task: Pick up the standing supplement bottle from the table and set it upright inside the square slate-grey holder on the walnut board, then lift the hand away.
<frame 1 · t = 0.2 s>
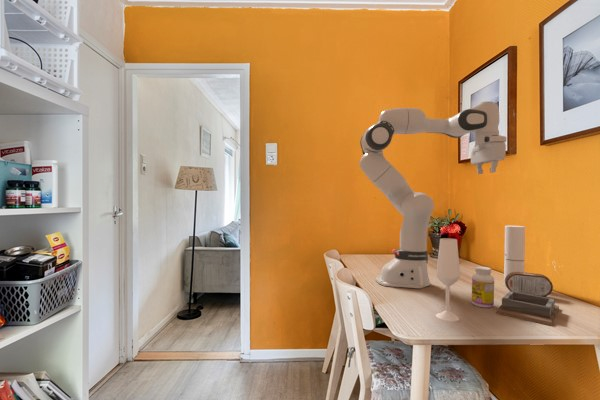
hand: (486, 173, 137), 47 cm above the table, tool pointing down, fingers open, 8 cm apart
cylindrical container: (513, 284, 137), on the table
champagne flute: (447, 317, 99), on the table
holder: (528, 310, 105), on the table
tin: (528, 295, 123), on the table
supplement bottle: (482, 305, 110), on the table
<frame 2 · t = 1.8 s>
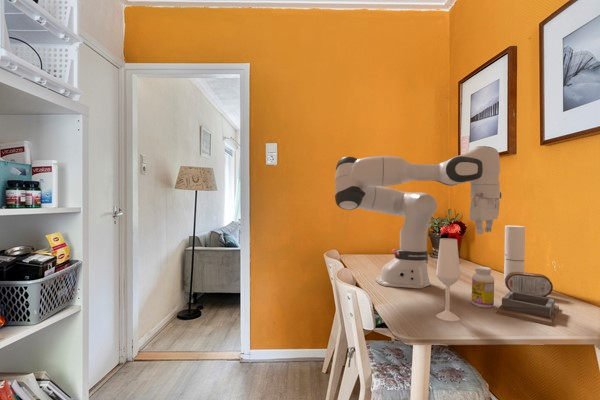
hand: (484, 233, 112), 25 cm above the table, tool pointing down, fingers open, 8 cm apart
nothing on the table moved.
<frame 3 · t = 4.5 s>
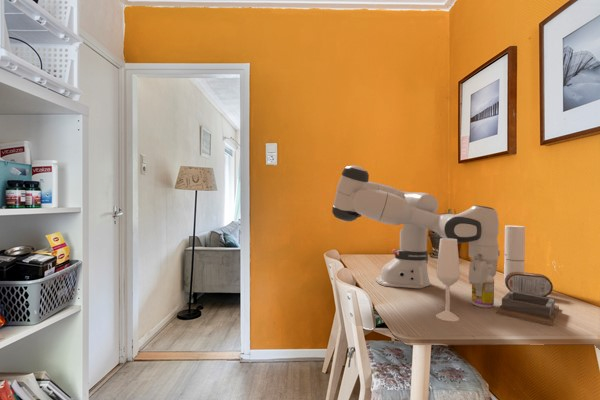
hand: (482, 293, 110), 4 cm above the table, tool pointing down, fingers closed on supplement bottle, 7 cm apart
supplement bottle: (482, 305, 110), on the table, touching gripper
everything else where it was.
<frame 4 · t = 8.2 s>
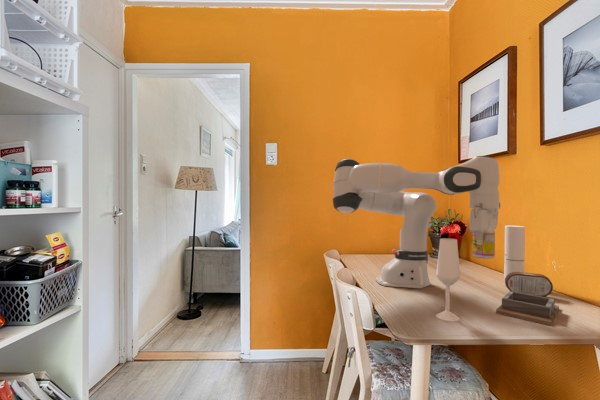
hand: (483, 243, 110), 21 cm above the table, tool pointing down, fingers closed on supplement bottle, 7 cm apart
supplement bottle: (483, 257, 110), point 16 cm above the table, touching gripper
everything else where it was.
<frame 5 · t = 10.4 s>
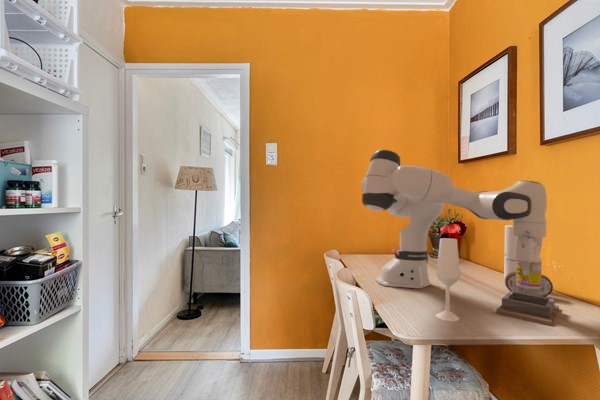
hand: (528, 273, 105), 12 cm above the table, tool pointing down, fingers closed on supplement bottle, 7 cm apart
supplement bottle: (528, 287, 105), point 8 cm above the table, touching gripper
everything else where it was.
when the fingers open (6 cm above the table, at t = 12.1 s): supplement bottle stays where it is, resting on holder.
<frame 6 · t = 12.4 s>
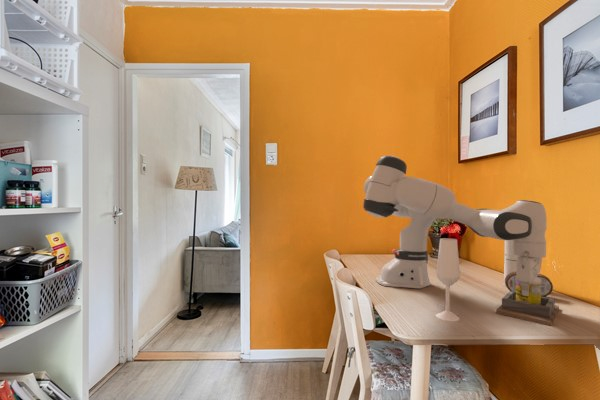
hand: (528, 292, 105), 6 cm above the table, tool pointing down, fingers open, 8 cm apart
supplement bottle: (527, 308, 105), point 1 cm above the table, touching holder
everything else where it was.
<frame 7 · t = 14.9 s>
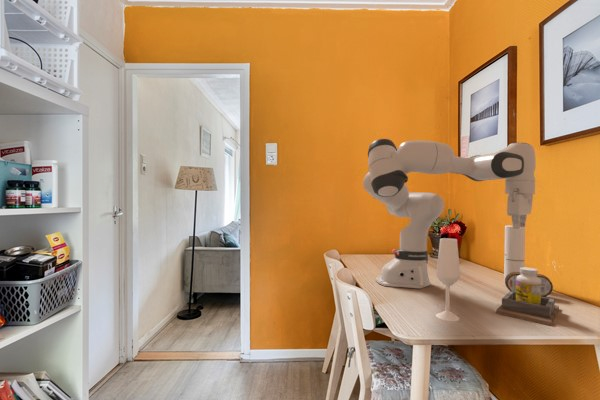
hand: (519, 227, 114), 26 cm above the table, tool pointing down, fingers open, 8 cm apart
nothing on the table moved.
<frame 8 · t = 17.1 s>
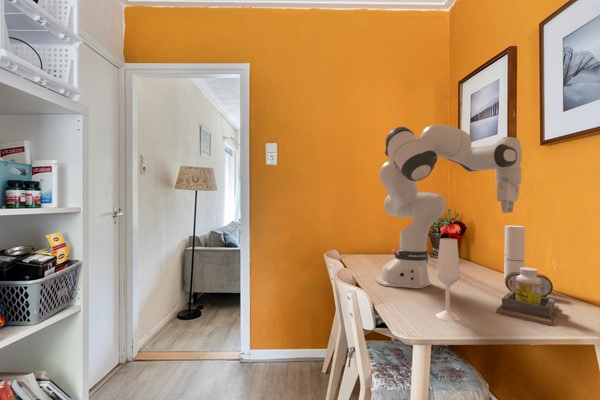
hand: (507, 212, 129), 31 cm above the table, tool pointing down, fingers open, 8 cm apart
nothing on the table moved.
at the end: supplement bottle 0.3 cm off-centre on the holder, point 0.8 cm above the holder's base; supplement bottle tilted 0°; the gripper is holding nothing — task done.
